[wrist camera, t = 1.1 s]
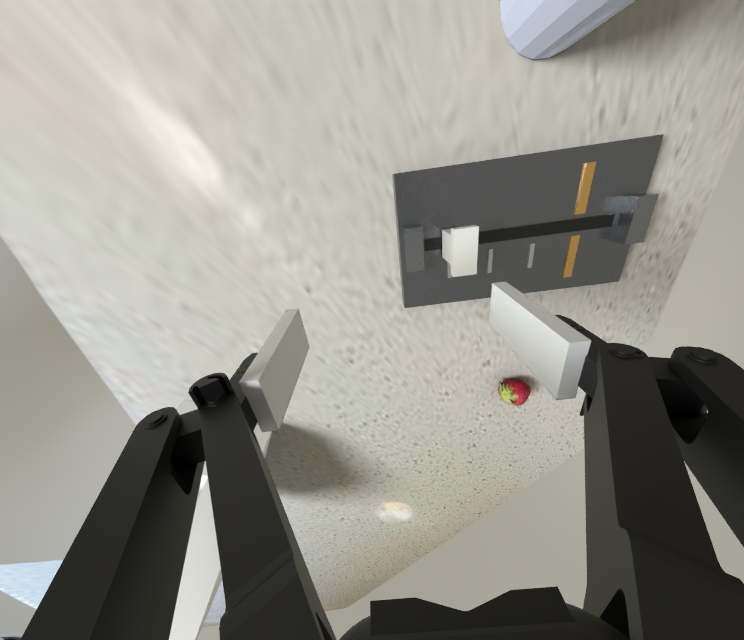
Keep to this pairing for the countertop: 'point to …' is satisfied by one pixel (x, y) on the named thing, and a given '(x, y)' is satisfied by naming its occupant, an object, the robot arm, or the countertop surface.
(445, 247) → the fader
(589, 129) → the countertop surface
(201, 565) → the white toy house
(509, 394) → the fruit
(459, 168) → the console
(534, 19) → the soap bottle
